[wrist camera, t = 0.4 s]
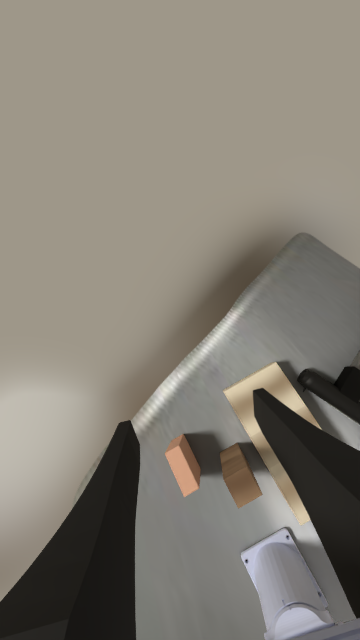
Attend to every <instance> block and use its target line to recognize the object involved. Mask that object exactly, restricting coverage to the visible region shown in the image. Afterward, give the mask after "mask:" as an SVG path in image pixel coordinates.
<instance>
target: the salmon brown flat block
mask: <svg viewBox="0 0 360 640" xmlns="http://www.w3.org/2000/svg"><path fill="white" fill-rule="evenodd" d="M165 455H166V457H167V460H168V462H169V464H170V466H171V468H172V471H173V473H174V475H175V477H176V480H177V482H178V484H179V486H180V488H181V491H182V493H183V495H184V497H185V496H187V495H188V494H190V493H192V492H194V491H195V490H197V489H199V484H200V472H201V469H200V467H199V465H198V462H197V460H196V458H195V456H194V454H193V452H192V450H191V448H190V446H189V444H188V442H187V440H186V438H185V436H184V434H182V435H181V436H179V437H177V438H175V439H174V440H172V441H171V443H170V445H169V446H168V448H167V450H166V452H165Z"/></svg>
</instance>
